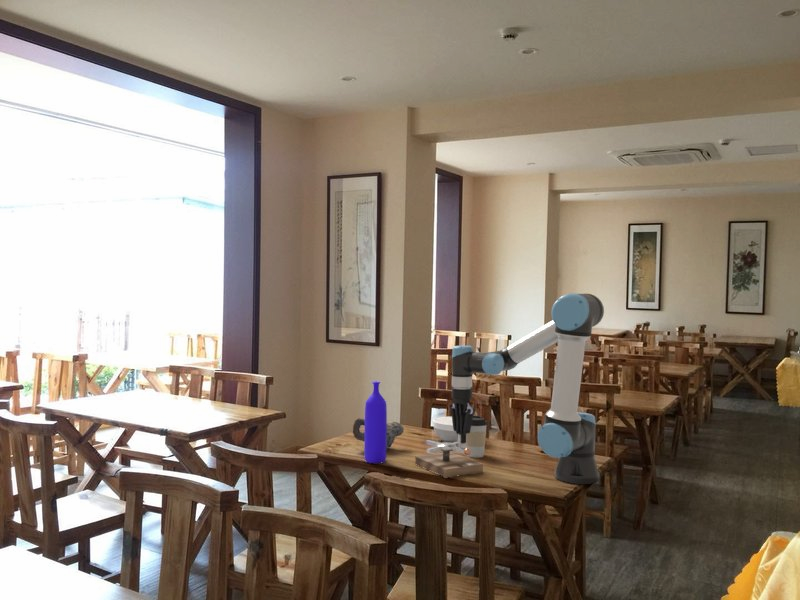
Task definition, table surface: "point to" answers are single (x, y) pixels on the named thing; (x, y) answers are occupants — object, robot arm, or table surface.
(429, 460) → the level stand
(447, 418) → the bowl
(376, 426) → the bottle
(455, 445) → the capstan
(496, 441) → the table surface
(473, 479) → the table surface
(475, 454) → the coffee cup
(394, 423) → the teapot
